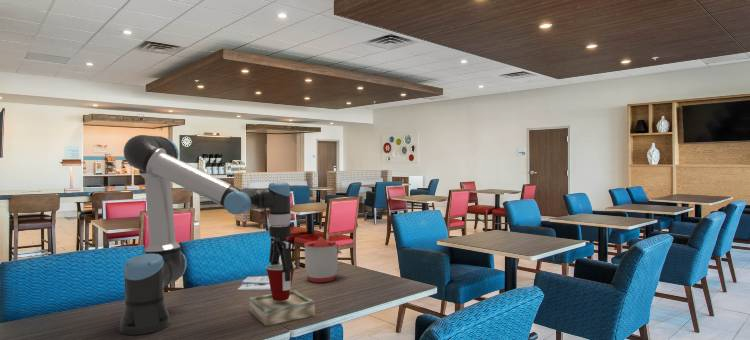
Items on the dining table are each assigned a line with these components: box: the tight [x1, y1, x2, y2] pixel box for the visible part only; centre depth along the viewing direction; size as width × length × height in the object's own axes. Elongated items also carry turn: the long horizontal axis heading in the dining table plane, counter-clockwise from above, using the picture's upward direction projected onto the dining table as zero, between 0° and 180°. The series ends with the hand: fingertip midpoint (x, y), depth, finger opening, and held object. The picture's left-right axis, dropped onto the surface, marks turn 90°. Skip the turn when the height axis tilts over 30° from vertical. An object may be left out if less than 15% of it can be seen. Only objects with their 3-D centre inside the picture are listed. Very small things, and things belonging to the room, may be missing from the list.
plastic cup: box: [264, 263, 297, 301], centre depth 165 cm, size 11×11×12 cm
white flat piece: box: [236, 275, 271, 291], centre depth 205 cm, size 19×20×2 cm
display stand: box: [248, 289, 316, 327], centre depth 165 cm, size 18×18×5 cm
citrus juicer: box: [303, 236, 343, 283], centre depth 211 cm, size 16×17×20 cm
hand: (281, 286), depth 165 cm, fingers closed on plastic cup, 11 cm apart
